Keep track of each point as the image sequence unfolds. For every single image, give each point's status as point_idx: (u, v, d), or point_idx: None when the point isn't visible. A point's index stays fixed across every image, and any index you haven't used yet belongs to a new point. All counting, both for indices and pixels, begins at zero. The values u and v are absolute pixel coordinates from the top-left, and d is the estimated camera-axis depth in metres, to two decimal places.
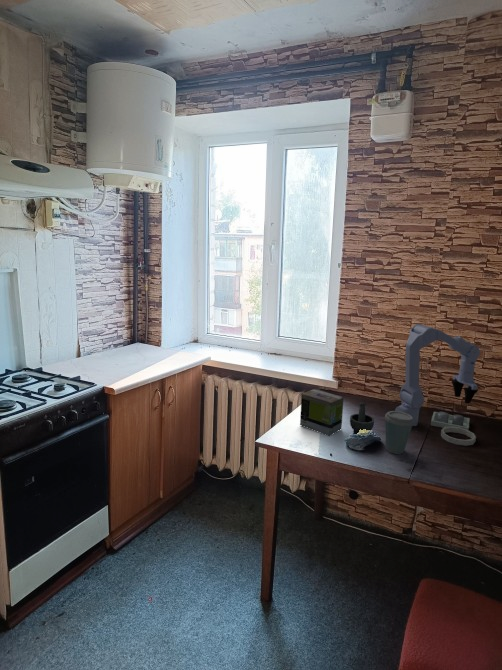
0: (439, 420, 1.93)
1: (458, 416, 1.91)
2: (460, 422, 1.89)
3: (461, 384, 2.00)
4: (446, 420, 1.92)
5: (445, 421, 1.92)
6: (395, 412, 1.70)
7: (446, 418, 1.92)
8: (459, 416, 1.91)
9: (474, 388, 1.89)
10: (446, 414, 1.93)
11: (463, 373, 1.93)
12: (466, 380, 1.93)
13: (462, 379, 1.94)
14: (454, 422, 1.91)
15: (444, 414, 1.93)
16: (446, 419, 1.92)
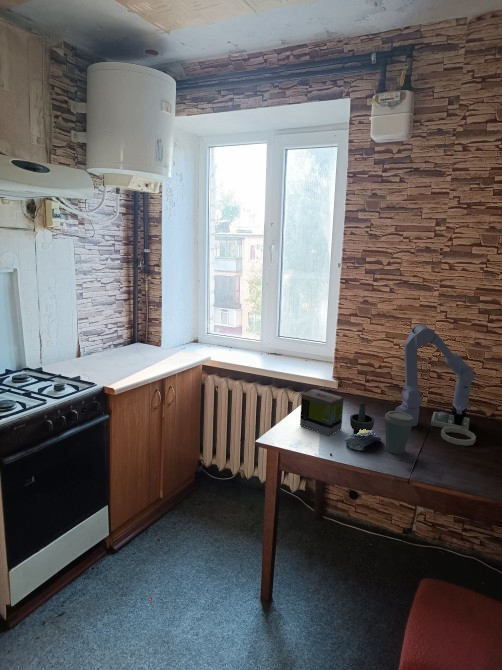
0: (439, 420, 1.93)
1: None
2: None
3: None
4: (446, 420, 1.92)
5: (445, 421, 1.92)
6: (395, 412, 1.70)
7: (446, 418, 1.92)
8: None
9: (458, 412, 1.84)
10: (446, 414, 1.93)
11: (455, 396, 1.89)
12: (457, 403, 1.88)
13: (454, 402, 1.89)
14: None
15: (444, 414, 1.93)
16: (446, 419, 1.92)
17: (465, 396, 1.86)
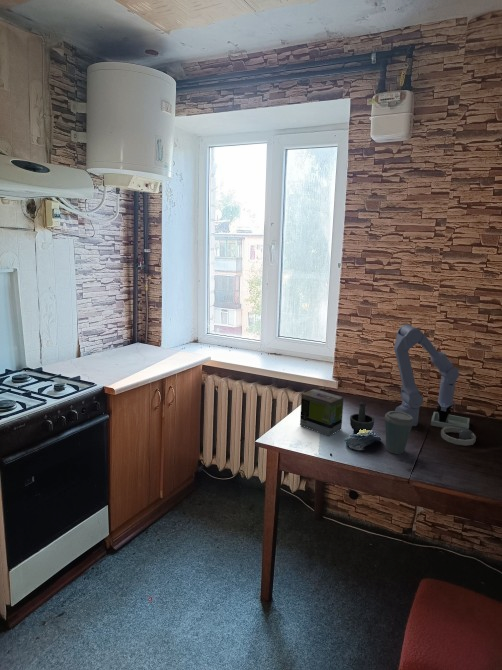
0: None
1: (465, 430, 1.78)
2: (468, 437, 1.76)
3: None
4: (446, 420, 1.92)
5: None
6: (395, 412, 1.70)
7: None
8: (466, 430, 1.78)
9: (442, 409, 1.87)
10: None
11: (440, 393, 1.91)
12: (442, 401, 1.91)
13: (439, 399, 1.92)
14: (461, 437, 1.77)
15: None
16: (446, 419, 1.92)
17: (449, 393, 1.89)
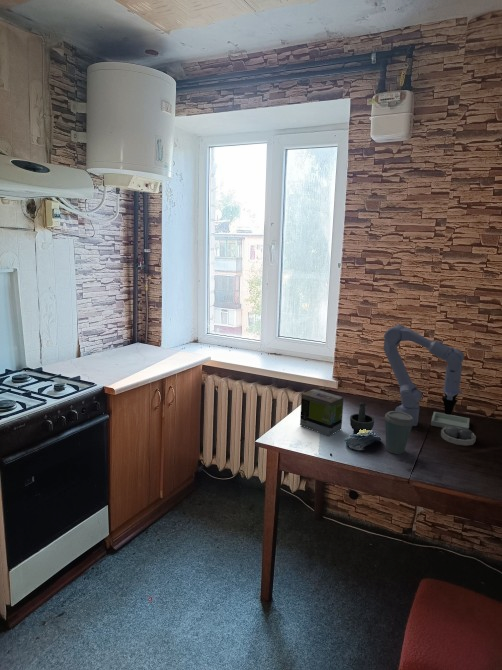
0: None
1: (465, 430, 1.78)
2: (468, 437, 1.76)
3: None
4: (455, 435, 1.79)
5: (454, 436, 1.79)
6: (395, 412, 1.70)
7: (455, 433, 1.78)
8: (466, 430, 1.78)
9: (448, 398, 1.75)
10: (455, 428, 1.79)
11: (445, 381, 1.80)
12: (447, 389, 1.79)
13: (444, 388, 1.80)
14: (461, 437, 1.77)
15: (453, 428, 1.79)
16: (455, 434, 1.78)
17: (456, 381, 1.77)
